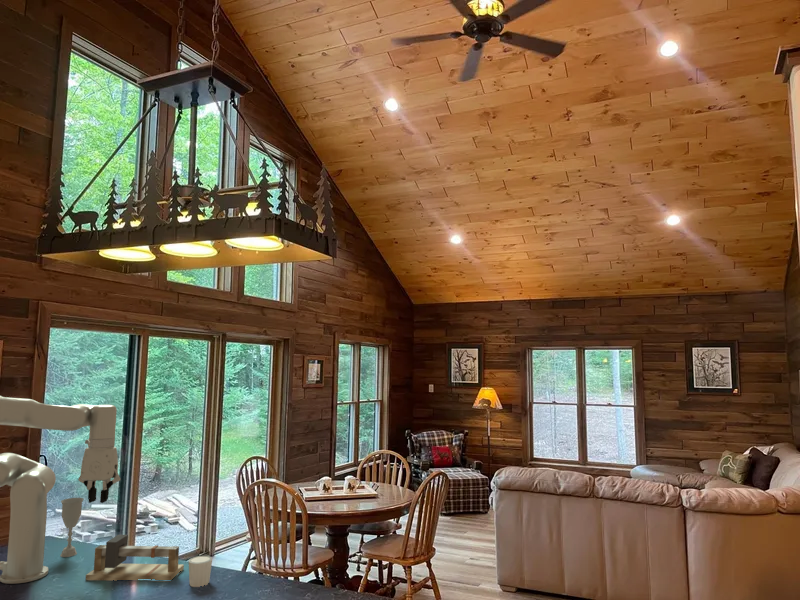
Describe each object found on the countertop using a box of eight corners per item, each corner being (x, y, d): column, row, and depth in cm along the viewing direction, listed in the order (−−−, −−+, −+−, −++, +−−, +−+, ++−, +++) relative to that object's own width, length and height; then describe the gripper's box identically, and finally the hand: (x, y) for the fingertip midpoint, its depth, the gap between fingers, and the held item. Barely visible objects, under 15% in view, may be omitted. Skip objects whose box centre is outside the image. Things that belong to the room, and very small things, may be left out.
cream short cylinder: (203, 588, 168) (204, 564, 169) (182, 586, 170) (183, 562, 170) (215, 580, 175) (216, 556, 176) (195, 578, 176) (196, 554, 177)
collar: (104, 567, 175) (106, 542, 176) (117, 559, 183) (118, 534, 183) (114, 568, 175) (116, 542, 176) (126, 559, 183) (127, 534, 183)
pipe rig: (85, 580, 174) (87, 551, 174) (102, 568, 184) (104, 540, 184) (170, 581, 173) (172, 552, 174) (183, 569, 183) (184, 542, 184)
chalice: (63, 551, 199) (67, 497, 201) (83, 550, 200) (87, 497, 201) (52, 558, 192) (56, 503, 193) (74, 557, 192) (78, 502, 194)
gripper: (69, 444, 182) (65, 504, 180) (121, 445, 182) (117, 505, 180) (83, 441, 190) (79, 498, 188) (132, 442, 189) (128, 499, 188)
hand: (98, 501), depth 184 cm, fingers open, 3 cm apart
